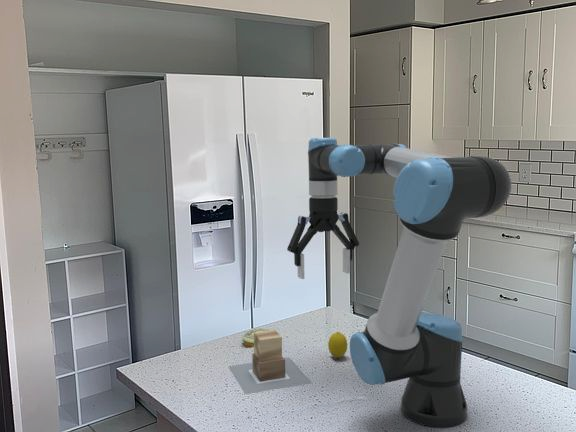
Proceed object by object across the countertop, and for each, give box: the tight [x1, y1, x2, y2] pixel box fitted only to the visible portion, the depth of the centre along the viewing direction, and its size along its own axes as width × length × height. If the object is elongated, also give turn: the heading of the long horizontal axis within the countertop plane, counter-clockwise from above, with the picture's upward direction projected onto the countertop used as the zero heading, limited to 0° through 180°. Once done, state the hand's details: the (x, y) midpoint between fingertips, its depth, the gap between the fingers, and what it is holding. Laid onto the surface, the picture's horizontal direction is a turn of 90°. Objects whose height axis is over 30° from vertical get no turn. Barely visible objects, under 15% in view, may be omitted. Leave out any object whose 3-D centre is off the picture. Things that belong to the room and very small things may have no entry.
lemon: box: [328, 331, 348, 359], centre depth 167 cm, size 6×6×8 cm
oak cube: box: [253, 329, 283, 362], centre depth 153 cm, size 6×6×6 cm
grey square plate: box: [227, 356, 313, 395], centre depth 154 cm, size 18×18×1 cm
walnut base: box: [251, 352, 285, 382], centre depth 154 cm, size 7×7×5 cm
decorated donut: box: [241, 328, 269, 349], centre depth 179 cm, size 10×11×4 cm
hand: (324, 275), depth 154 cm, fingers open, 13 cm apart
